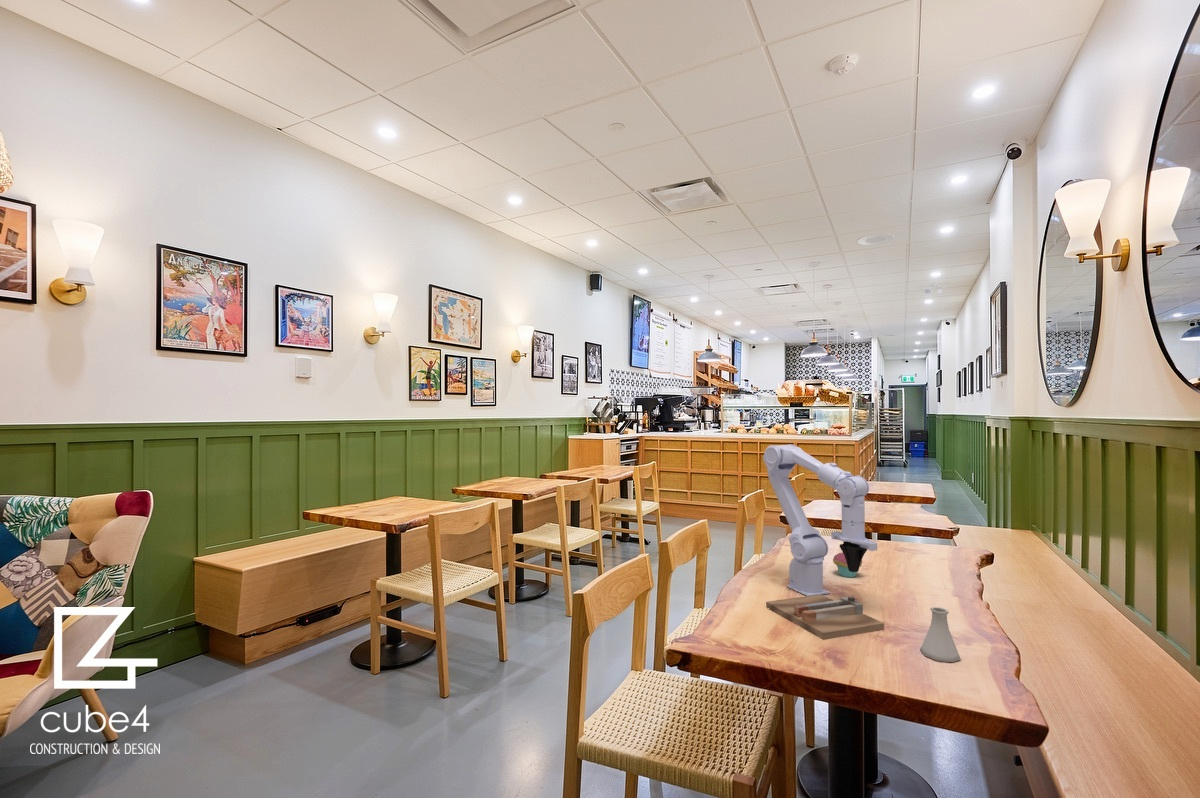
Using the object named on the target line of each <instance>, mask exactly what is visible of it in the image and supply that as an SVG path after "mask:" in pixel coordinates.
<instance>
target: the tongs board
mask: <svg viewBox="0 0 1200 798" xmlns="http://www.w3.org/2000/svg"><path fill="white" fill-rule="evenodd" d="M833 600H834V599H832V598H830V597H828V596H825V595H824V594H822V595H821V594H820V595H813V596H806V595H804V596H798V597H792V598H786V599H785V598H784V599H777V600H776V599H775V600H769V601H765V604H766V605H765V608H766V607H767V608H766V609H768V608H769V610H770V611H772V612H774V613H775V612H776V613H775V614H777V615H779V616H781V617H783V618H784V619H786V620H788V621H790V622H791V623H793V624H795V625H797V626H799V627H800V628H803V629H804V630H806V631H808V632H809V633H811V634H813V635H815V636H817V637H819V638H820V639H822V640H828V639H835V638H840V637H841V638H842V637H846V636H847V637H848V636H853V635H858V634H864V633H865V634H866V633H870V632H875V631H883V630H885V622H882V621H880V620H879V619H875V618H873V617H872V616H870V615H867V614H865V613H864V611H863V610H864V606H863V605H864V604H863V603H862V602H859V601H858V600H856V598H855V597H853V596H848V597H847V596H845V597H840V600H841V601H843V606H838V607H831V608H825V609H818V610H807V611H802V616H797V615H795V614H794V606H796V605H803V604H804V605H806V604H813V603H820V602H827V601H833Z"/></svg>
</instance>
